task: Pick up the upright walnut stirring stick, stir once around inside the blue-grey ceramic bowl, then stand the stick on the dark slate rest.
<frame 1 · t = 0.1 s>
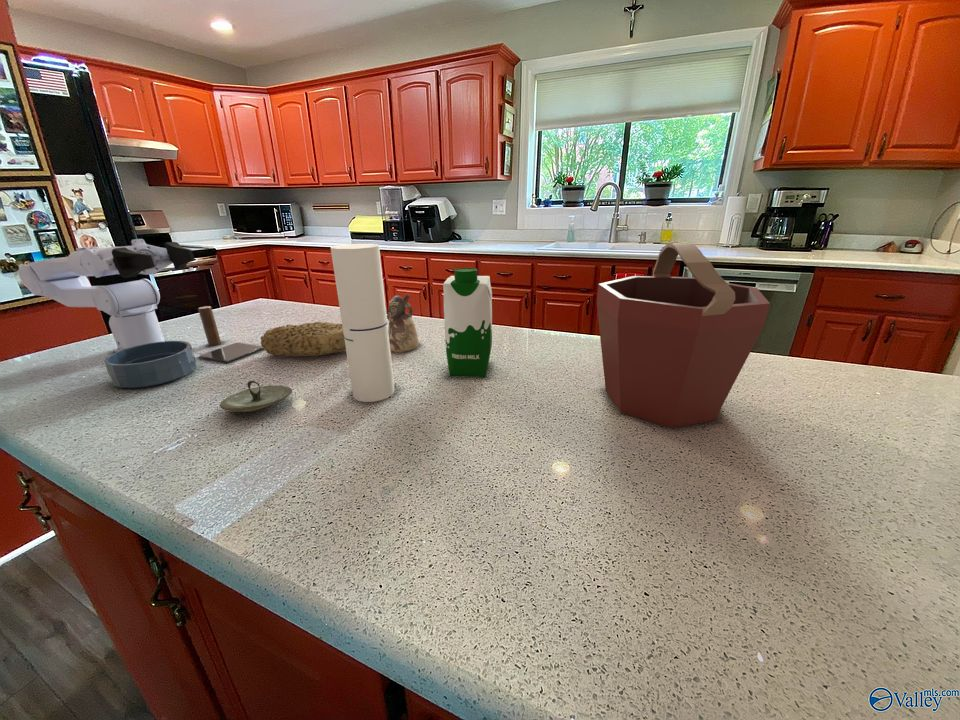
hand: (172, 257, 78), 22 cm above the countertop, tool horizontal, fingers open, 7 cm apart
bowl: (157, 375, 78), on the countertop
milk carton: (470, 370, 78), on the countertop
bucket: (655, 401, 66), on the countertop
figurine: (403, 347, 92), on the countertop
stirring stick: (215, 343, 95), on the countertop
lid: (259, 407, 66), on the countertop
spoon rest: (232, 353, 89), on the countertop
cylindrical container: (374, 393, 70), on the countertop
sponge: (317, 353, 89), on the countertop
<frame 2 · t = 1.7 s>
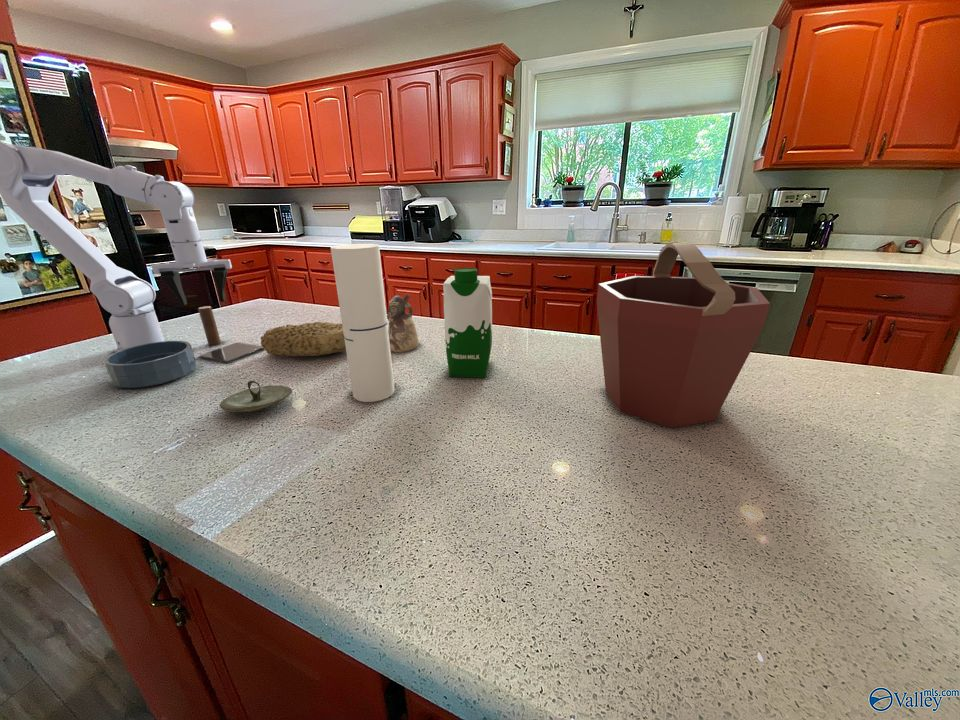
hand: (203, 302, 91), 10 cm above the countertop, tool pointing down, fingers open, 7 cm apart
nothing on the countertop moved.
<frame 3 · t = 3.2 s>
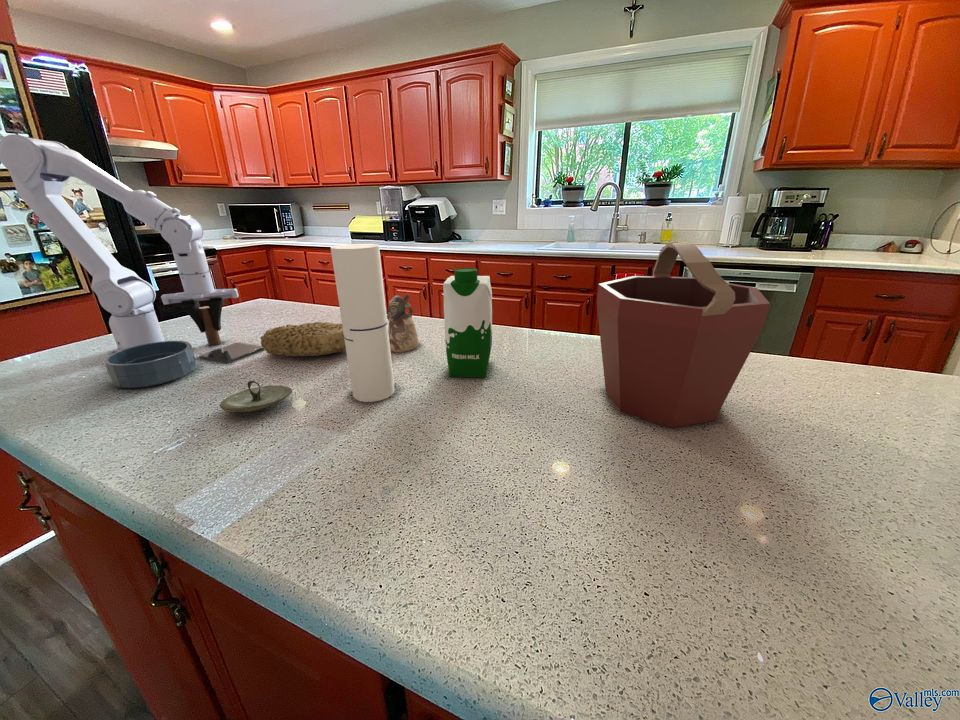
hand: (211, 330, 94), 3 cm above the countertop, tool pointing down, fingers closed on stirring stick, 2 cm apart
stirring stick: (215, 343, 95), on the countertop, touching gripper
everything else where it was.
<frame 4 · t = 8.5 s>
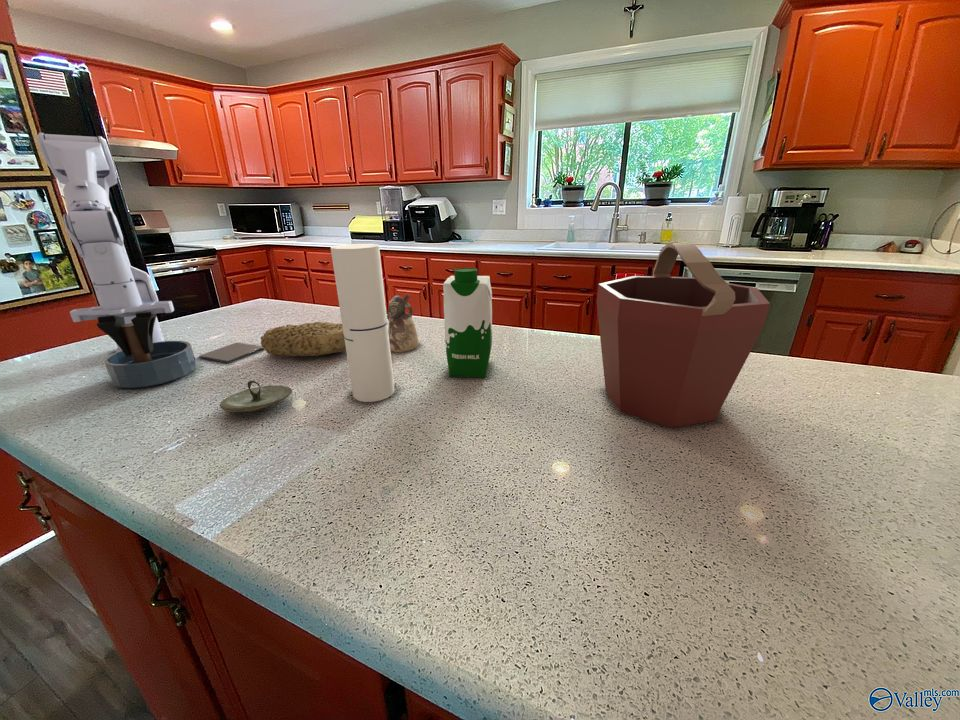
hand: (139, 352, 76), 5 cm above the countertop, tool pointing down, fingers closed on stirring stick, 2 cm apart
stirring stick: (145, 368, 77), point 2 cm above the countertop, touching gripper
everything else where it was.
when the fingers open (4 cm above the countertop, at t = 13.7 s): stirring stick stays where it is, resting on spoon rest.
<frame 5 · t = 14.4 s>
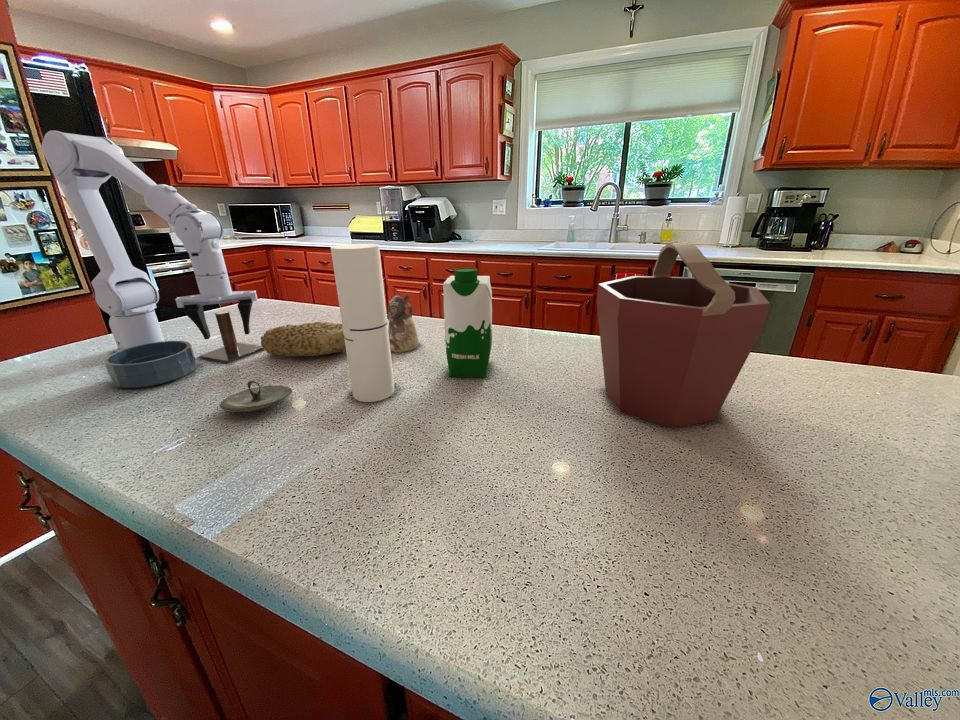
hand: (228, 335, 87), 4 cm above the countertop, tool pointing down, fingers open, 7 cm apart
stirring stick: (232, 351, 89), resting on spoon rest
everything else where it was.
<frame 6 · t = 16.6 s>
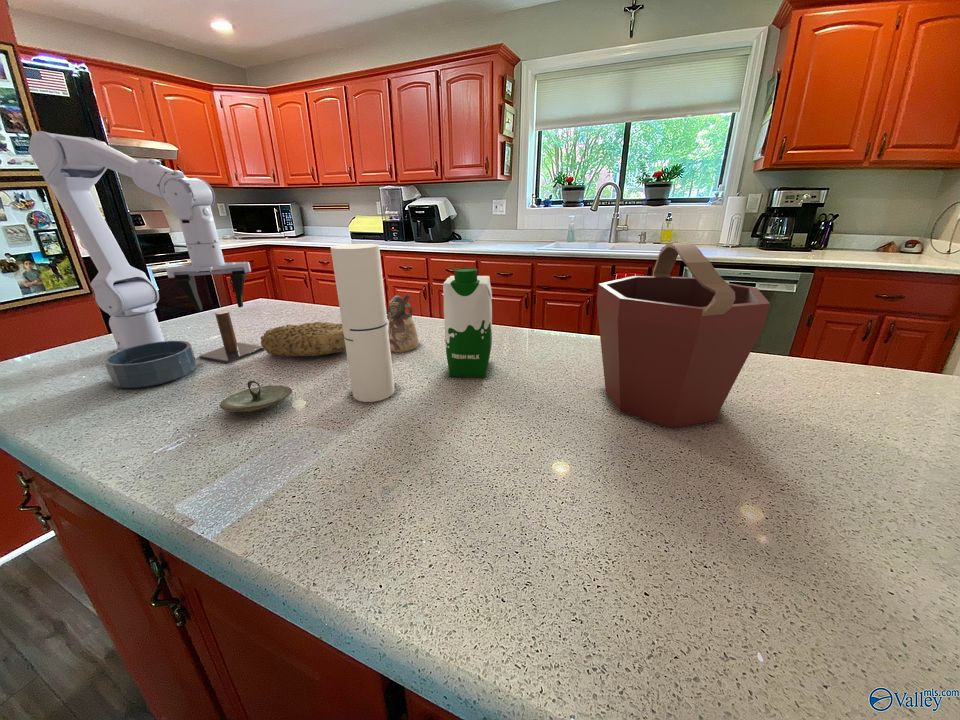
hand: (220, 308, 85), 10 cm above the countertop, tool pointing down, fingers open, 7 cm apart
nothing on the countertop moved.
at the end: stirring stick 0.1 cm off-centre on the spoon rest, point 0.5 cm above the spoon rest's base; stirring stick tilted 0°; the gripper is holding nothing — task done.
